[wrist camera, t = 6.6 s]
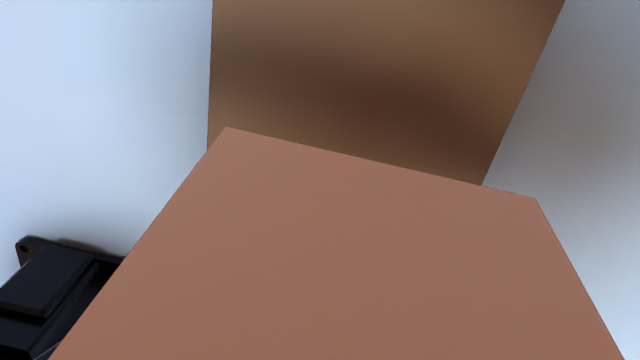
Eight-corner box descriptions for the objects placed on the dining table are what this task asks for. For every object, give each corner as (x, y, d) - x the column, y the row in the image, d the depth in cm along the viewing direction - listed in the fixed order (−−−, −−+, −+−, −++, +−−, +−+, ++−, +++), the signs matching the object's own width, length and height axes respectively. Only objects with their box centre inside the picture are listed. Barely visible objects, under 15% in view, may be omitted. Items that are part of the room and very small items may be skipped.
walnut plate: (445, 232, 20) (450, 253, 19) (216, 181, 20) (205, 199, 19) (556, -24, 14) (573, -18, 13) (231, -92, 14) (216, -93, 13)
